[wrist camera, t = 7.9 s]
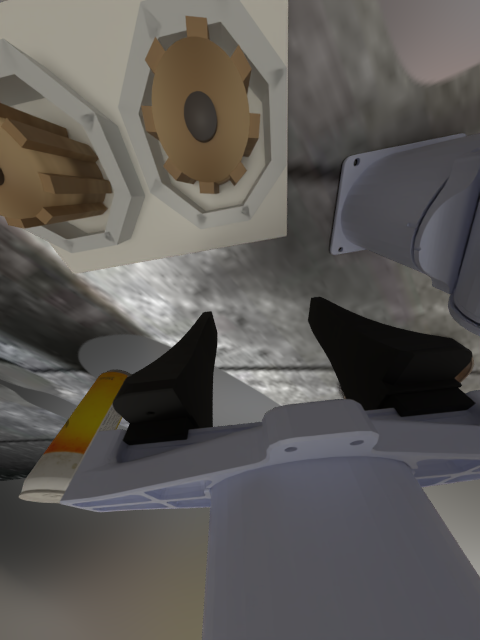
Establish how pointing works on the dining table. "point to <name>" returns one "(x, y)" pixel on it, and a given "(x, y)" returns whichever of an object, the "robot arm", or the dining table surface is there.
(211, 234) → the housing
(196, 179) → the loose gear
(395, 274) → the dining table surface
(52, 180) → the seated gear
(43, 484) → the beer can
